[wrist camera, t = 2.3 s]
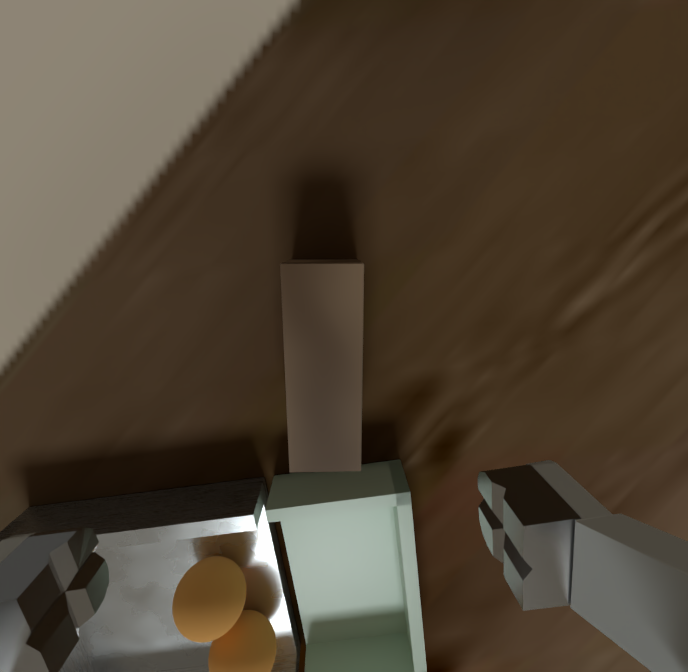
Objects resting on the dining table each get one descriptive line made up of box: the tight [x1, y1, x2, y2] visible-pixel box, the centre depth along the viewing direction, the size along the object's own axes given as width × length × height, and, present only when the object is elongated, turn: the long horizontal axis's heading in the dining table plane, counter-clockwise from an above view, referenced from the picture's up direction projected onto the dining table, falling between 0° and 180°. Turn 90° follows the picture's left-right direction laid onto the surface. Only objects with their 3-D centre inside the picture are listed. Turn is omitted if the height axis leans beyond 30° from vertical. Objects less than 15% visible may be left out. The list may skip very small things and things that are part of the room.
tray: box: [265, 459, 427, 672], centre depth 22 cm, size 8×14×3 cm, turn 7°
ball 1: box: [172, 556, 246, 643], centre depth 20 cm, size 4×4×4 cm
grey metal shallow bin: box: [0, 477, 301, 672], centre depth 22 cm, size 15×14×3 cm
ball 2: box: [208, 610, 277, 672], centre depth 22 cm, size 4×4×4 cm
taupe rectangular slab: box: [280, 259, 364, 472], centre depth 18 cm, size 4×10×4 cm, turn 0°
